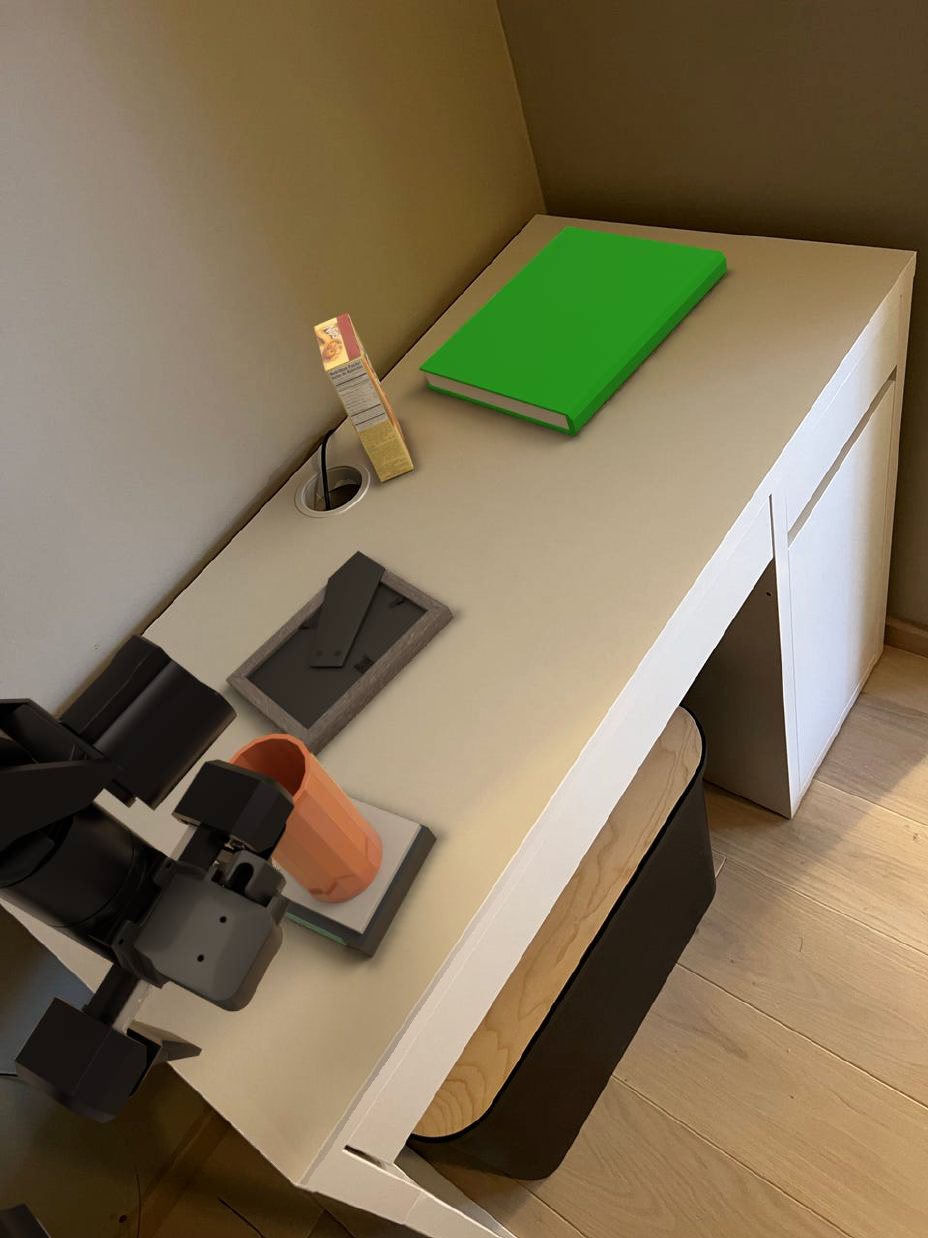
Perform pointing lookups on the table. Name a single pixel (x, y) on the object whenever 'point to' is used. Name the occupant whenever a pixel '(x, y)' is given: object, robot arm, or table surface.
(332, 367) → the candy box
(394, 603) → the picture frame
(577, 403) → the book
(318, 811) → the cup
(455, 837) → the table surface
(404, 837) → the scale
